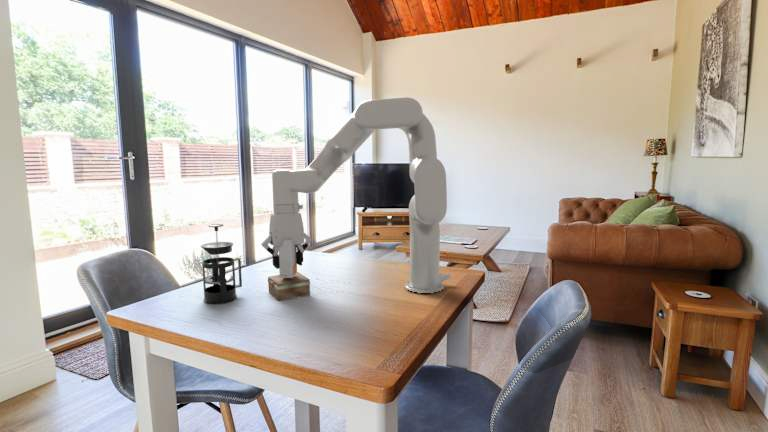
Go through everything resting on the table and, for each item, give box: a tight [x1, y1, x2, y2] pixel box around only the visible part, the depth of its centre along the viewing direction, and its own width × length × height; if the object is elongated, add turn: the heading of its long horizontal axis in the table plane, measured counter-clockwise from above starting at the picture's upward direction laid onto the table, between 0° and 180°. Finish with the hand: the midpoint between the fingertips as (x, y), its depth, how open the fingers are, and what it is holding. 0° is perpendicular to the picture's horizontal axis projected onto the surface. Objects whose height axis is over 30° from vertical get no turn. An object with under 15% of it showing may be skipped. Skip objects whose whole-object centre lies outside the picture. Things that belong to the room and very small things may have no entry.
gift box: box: [267, 271, 311, 301], centre depth 134 cm, size 11×10×5 cm
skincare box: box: [278, 239, 298, 278], centre depth 133 cm, size 6×4×12 cm
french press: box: [200, 223, 243, 305], centre depth 128 cm, size 12×9×23 cm
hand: (288, 265), depth 133 cm, fingers closed on skincare box, 6 cm apart
